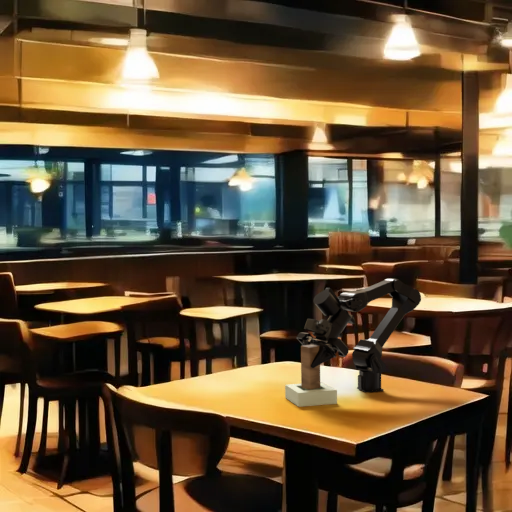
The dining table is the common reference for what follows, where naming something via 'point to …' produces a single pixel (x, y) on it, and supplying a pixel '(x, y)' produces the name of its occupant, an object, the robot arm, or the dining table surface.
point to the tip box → (310, 395)
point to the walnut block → (309, 367)
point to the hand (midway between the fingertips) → (306, 366)
